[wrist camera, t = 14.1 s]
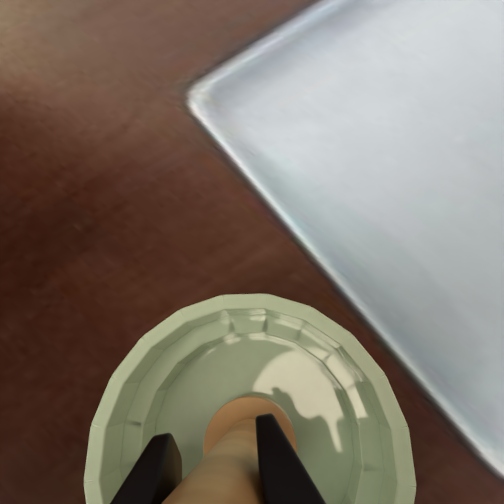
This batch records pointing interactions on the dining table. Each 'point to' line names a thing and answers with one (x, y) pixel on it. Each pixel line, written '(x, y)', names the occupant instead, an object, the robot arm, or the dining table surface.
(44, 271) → the dining table surface
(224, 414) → the tan wooden rod
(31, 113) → the dining table surface
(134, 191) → the dining table surface
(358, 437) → the bowl
